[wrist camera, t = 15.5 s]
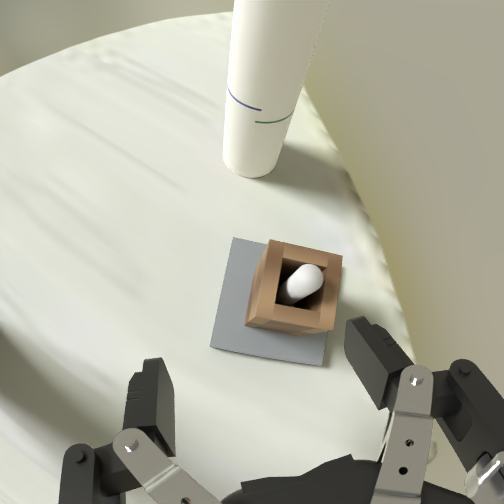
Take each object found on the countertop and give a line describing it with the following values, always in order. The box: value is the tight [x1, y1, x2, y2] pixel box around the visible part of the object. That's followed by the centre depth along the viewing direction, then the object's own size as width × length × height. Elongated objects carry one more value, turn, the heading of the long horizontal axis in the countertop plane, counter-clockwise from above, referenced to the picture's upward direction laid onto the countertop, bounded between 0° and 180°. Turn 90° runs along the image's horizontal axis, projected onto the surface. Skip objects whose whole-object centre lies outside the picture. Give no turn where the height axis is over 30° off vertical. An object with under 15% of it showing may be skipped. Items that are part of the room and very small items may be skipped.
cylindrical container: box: [223, 0, 331, 178], centre depth 28 cm, size 7×7×25 cm
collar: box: [244, 239, 343, 336], centre depth 28 cm, size 6×6×10 cm
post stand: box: [210, 237, 328, 366], centre depth 28 cm, size 12×12×14 cm
